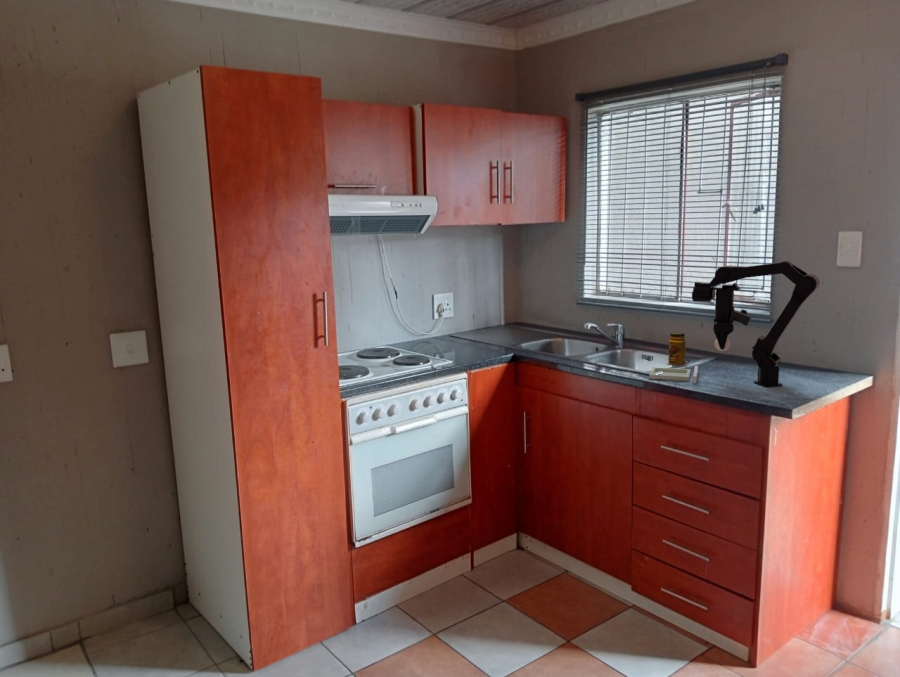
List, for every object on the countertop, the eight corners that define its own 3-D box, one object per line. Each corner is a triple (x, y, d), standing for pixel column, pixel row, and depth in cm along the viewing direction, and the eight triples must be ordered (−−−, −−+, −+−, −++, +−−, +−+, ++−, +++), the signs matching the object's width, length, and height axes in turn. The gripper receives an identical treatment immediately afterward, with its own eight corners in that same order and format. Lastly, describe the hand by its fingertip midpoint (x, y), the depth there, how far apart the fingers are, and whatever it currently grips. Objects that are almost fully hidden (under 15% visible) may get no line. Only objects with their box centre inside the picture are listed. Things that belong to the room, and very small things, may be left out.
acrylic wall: (696, 383, 232) (696, 376, 231) (693, 383, 232) (693, 376, 232) (697, 372, 248) (698, 365, 248) (694, 372, 249) (695, 365, 248)
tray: (688, 381, 235) (688, 377, 235) (649, 379, 240) (649, 374, 239) (690, 373, 247) (690, 369, 247) (652, 371, 252) (653, 367, 251)
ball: (733, 351, 234) (733, 337, 233) (719, 352, 233) (720, 338, 232) (724, 349, 238) (724, 335, 238) (711, 350, 237) (711, 335, 237)
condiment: (666, 364, 263) (667, 334, 261) (668, 360, 270) (669, 330, 268) (686, 366, 260) (687, 335, 258) (688, 361, 267) (689, 331, 265)
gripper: (751, 306, 221) (748, 354, 224) (749, 300, 238) (746, 344, 241) (714, 306, 225) (712, 352, 228) (714, 299, 242) (713, 343, 245)
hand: (722, 348), depth 235 cm, fingers closed on ball, 5 cm apart
